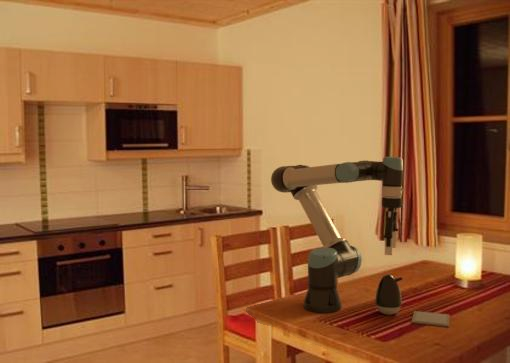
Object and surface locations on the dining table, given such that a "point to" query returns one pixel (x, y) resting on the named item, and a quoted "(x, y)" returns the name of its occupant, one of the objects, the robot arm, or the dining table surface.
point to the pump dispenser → (388, 295)
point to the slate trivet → (430, 318)
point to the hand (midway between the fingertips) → (390, 251)
